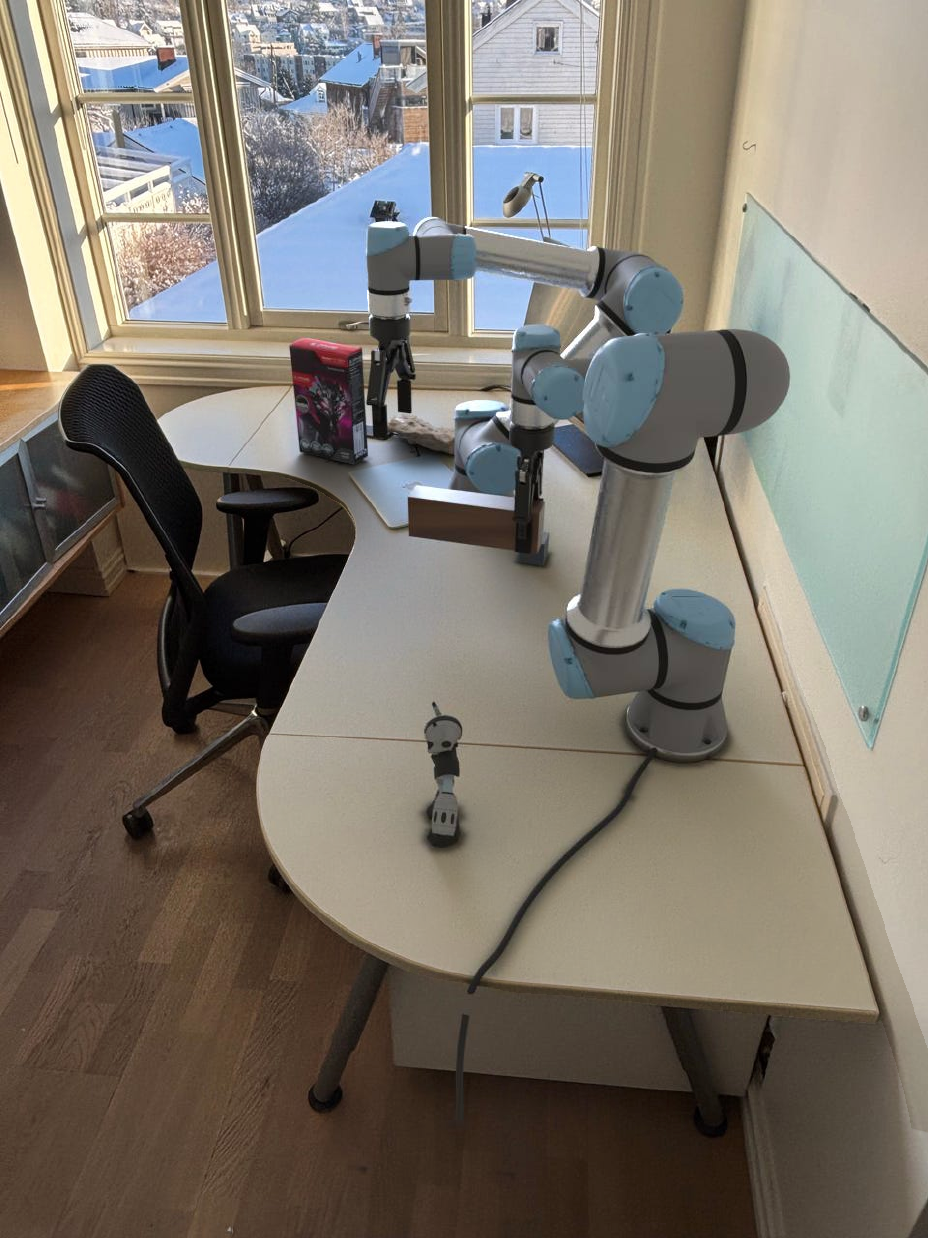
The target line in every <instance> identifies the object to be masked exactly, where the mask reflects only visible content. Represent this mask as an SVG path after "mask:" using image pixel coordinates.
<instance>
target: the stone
mask: <svg viewBox="0 0 928 1238" xmlns="http://www.w3.org/2000/svg"><path fill="white" fill-rule="evenodd" d="M387 427H388V434H389V433H394V434H397V436H398V437H399V438H402V439H405V440H406V441H407V443H408V444H411V445H416V444H418V445H419V446H422V447H424V448H428V449H430V450H432V451H433V450H434V451H438V452H439V451H441V452H444V453H446V454H450V455H455V427H454V428H453V427H451V428H450V427H449V428H448V427H444V426H439V425H438V426H437V425H433V424H431V423H429V422H427V421H424V420H423V419H421V418H418V417H417V415H413V414H412V415H411V414H408V413H403V414H401V415H393V416H392V417H390V419H389V420H387Z"/></svg>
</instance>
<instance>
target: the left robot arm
mask: <svg viewBox="0 0 928 1238" xmlns="http://www.w3.org/2000/svg"><path fill="white" fill-rule="evenodd" d="M365 258H366V260H365V261H366V279H367V305H368V306H367V310H368V313H369V314H370V315H369V317H368V324H369V325H368V327H369V335H370V337H371V338H372V339H375V340H377V342H378V346H377V349H371V352H370V367H369V368H370V369H369V378H368V385H367V393H366V399H365V405H366V406H370V407H371V418H372V419H371V422H372V437H373V438H377V439H385V440H387V439H388V438H389V433H388V427H387V423H388V405H387V404H385V403H386V400H387V399H386V398H387V394H388V390H389V389H388V388H389V384H390V380H391V375H392V373H394V372H396V374H397V377H398V379H397V380H396V390H397V391H396V392H397V393H396V395H397V396H396V397H397V398H396V399H397V413H403V414H409V415H411V414H412V413H413V411H412V410H413V408H412V407H413V406H412V405H413V403H412V381H415V380H416V378H417V374H415V373H416V367H415V362H414V358H413V354H412V353H413V352H412V348H411V344H410V335H411V316H410V315H409V313H410V312H411V311H410V309H411V308H410V307H411V306H410V305H411V303H412V302H413V298H412V297H410V282H411V281H415V282H416V281H460V280H468V279H472V278H473V277H474V276H475V274H476V272H479V273H483V274H490V275H494V276H498V277H499V276H500V277H504V278H509V279H515V280H521V281H526V282H530V283H537V284H542V285H547V286H552V287H558V288H563V289H568V290H574V291H578V293H579V294H580V296H581V297H582V298H588V299H592V300H595V301H598V302H597V303H596V304H595V306H594V318H593V320H591V322H590V323H589V324H587V326H586V327H585V328H584V329H583V330H582V331H581V332H580V333H579V335H578V336H577V337H576V338H574V340H573V341H572V342H571V343H570V345H568V346H567V348H566V349H565V350H564V351H563V352H562V353H561V354H560V355H561V356H562V357H563V358H564V359H573V358H589V357H594V356H595V354H596V353H597V351H598V350H599V349H600V347H601V346H603V345H604V344H606V343H607V342H608V341H610V340H611V339H614V338H618V337H626V336H634V335H636V334H639V333H652V334H665V333H669V331H670V330H671V329H673V327H674V326H675V325H676V324H677V323H678V321H679V320H680V317H681V315H682V312H683V308H684V291H683V288H682V285H681V283H680V282H679V280H678V279H677V278H676V277H675V276H674V274H673V272H671V271H670V270H669V269H668V268H666V267H665V266H663V265H661V264H659V263H658V262H657V261H655V260H654V259H653V258H652V257H650V256H648V255H646V254H644V253H641V252H635V251H629V250H622V249H614V248H606V247H601V246H600V247H599V246H596V245H593V246H591V247H589V248H588V249H582V248H576V247H571V246H566V245H562V244H557V243H556V244H555V243H550V242H545V241H540V240H537V239H536V240H535V239H531V238H526V237H520V236H515V235H510V234H504V233H500V232H495V231H490V230H484V229H480V228H476V227H469V226H463V225H460V224H454V223H449V222H447V221H445V220H444V219H442V218H439V217H436V216H429V217H425V218H424V219H422V220H420V221H419V223H418V224H417V225H416V226H415V228H414V231H413V234H410V231H409V227H408V225H407V224H405V223H403V222H399V221H378V222H373V223H371V224H369V226H368V227H367V229H366V231H365ZM453 421H454V429H455V454H454V470H453V473H452V477H451V480H450V482H449V485H448V487H447V489H450V490H458V491H466V492H474V493H482V494H489V495H497V496H505V497H513V498H515V484H516V483H515V472H516V470H518V466H517V457H518V456H520V452H521V451H520V450H519V449H517V448H514V447H513V446H512V445H511V444H510V442H509V431H510V422H511V420H510V406H508V405H507V404H506V403H505V402H502V401H499V400H490V399H489V400H488V399H478V400H476V399H475V400H468V401H465V402H464V401H463V402H462V403H460V404H458V405H456V407H455V409H454V417H453ZM559 422H560V420H558V419H555V421H554V422H553V423H554V425H555V426H556V425H557V424H558V423H559Z"/></svg>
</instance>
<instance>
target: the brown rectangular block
mask: <svg viewBox="0 0 928 1238" xmlns="http://www.w3.org/2000/svg"><path fill="white" fill-rule="evenodd" d="M514 506H515V497H514V498H513V497H505V496H497V495H489V494H482V493H474V492H466V491H458V490H450V489H448V488H442V487H433V486H425V485H417V484H416V485H415V486H414V487H413V489H412V490H411V492H409V494H408V496H407V523H408V524H407V525H408V537H412V538H419V539H427V540H434V541H441V542H447V543H456V544H462V545H469V546H476V547H484V548H491V549H499V550H505V551H512V552H515V539H516V522H514V520H512V517H513V516H514ZM545 511H546V501H545V500H544V501H537V500H533V503H532V513H531V519H532V537H531V552H530V553H533V554H537V553H538V551H539V548H540V546H541V544H542V541H543V532H544V526H545V525H544V524H545Z"/></svg>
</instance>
